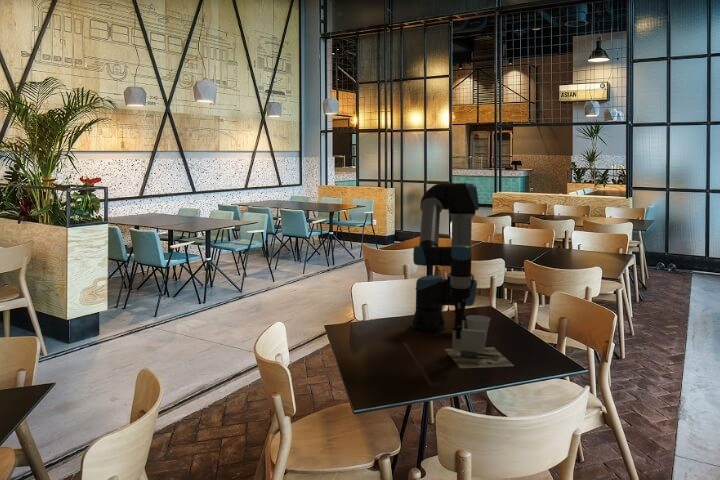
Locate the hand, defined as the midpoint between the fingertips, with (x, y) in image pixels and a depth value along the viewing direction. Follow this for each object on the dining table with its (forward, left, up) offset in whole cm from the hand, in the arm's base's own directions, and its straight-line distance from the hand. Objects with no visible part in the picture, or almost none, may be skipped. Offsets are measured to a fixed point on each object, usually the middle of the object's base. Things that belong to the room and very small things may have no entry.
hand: (459, 341), depth 224 cm
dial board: (+3, +6, -6) cm, 10 cm away
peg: (+2, +5, -5) cm, 7 cm away
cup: (-16, +12, -7) cm, 21 cm away
